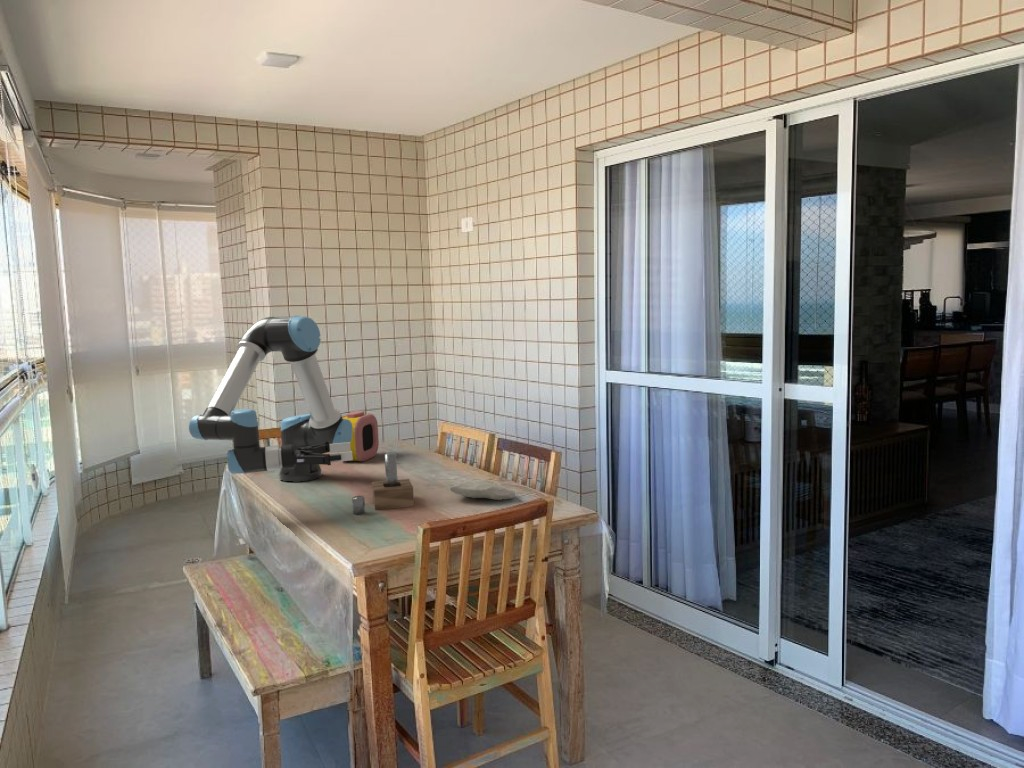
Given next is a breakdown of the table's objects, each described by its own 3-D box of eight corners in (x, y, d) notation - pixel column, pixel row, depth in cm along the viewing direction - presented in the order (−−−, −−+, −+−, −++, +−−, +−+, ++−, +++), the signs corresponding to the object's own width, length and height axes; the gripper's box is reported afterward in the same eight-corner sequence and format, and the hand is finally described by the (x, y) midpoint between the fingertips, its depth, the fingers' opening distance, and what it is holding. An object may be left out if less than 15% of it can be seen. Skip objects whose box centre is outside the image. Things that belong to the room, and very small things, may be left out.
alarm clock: (360, 464, 305) (357, 416, 302) (335, 463, 308) (332, 415, 306) (380, 454, 322) (378, 409, 320) (356, 454, 325) (354, 408, 323)
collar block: (372, 500, 251) (371, 482, 250) (409, 496, 254) (408, 478, 253) (375, 509, 239) (374, 490, 238) (413, 506, 242) (412, 487, 241)
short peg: (352, 512, 237) (352, 496, 237) (364, 511, 238) (363, 495, 238) (353, 515, 234) (352, 499, 233) (365, 514, 235) (364, 498, 234)
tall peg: (386, 502, 248) (384, 453, 246) (398, 501, 248) (395, 452, 247) (387, 505, 244) (384, 455, 242) (399, 504, 245) (396, 454, 243)
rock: (485, 491, 266) (432, 490, 255) (488, 474, 265) (435, 471, 255) (520, 507, 245) (464, 506, 235) (523, 488, 245) (466, 486, 235)
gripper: (283, 460, 250) (350, 453, 255) (280, 479, 226) (354, 472, 231) (281, 437, 249) (348, 431, 254) (278, 454, 225) (352, 447, 230)
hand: (351, 450), depth 242 cm, fingers open, 13 cm apart
